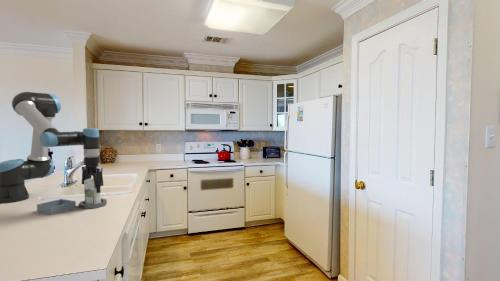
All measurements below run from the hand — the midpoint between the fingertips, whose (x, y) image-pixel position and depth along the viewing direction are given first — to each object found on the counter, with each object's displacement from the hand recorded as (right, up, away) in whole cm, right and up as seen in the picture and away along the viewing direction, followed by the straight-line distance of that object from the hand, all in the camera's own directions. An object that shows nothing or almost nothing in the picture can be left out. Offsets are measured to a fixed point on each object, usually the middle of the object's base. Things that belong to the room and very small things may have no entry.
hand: (92, 197), depth 149 cm
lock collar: (0, -4, 0) cm, 4 cm away
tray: (-14, -5, -8) cm, 17 cm away
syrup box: (0, -4, 0) cm, 4 cm away
